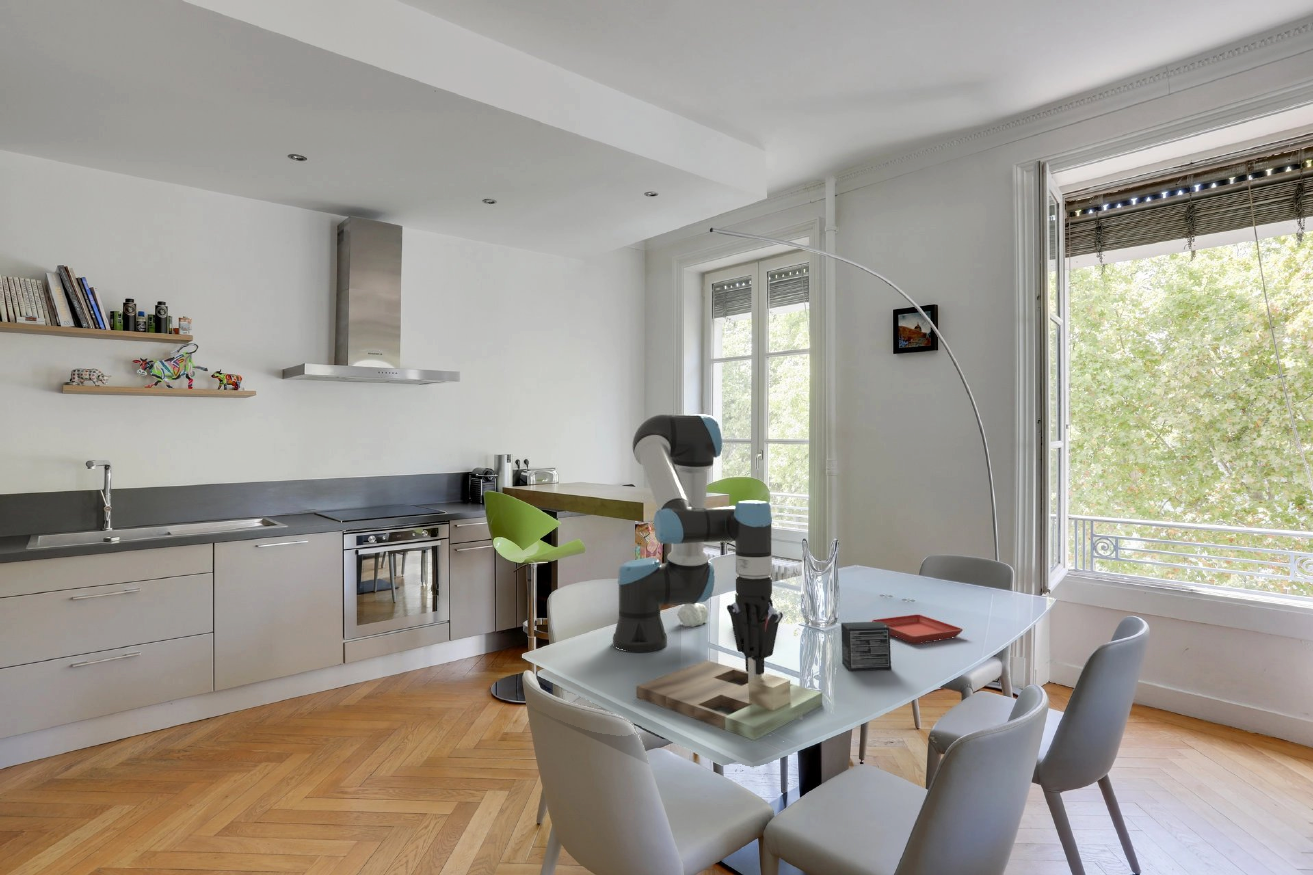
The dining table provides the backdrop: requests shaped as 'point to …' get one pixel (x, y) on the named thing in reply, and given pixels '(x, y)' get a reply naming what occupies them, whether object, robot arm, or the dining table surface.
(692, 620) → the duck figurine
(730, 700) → the board
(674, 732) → the dining table surface
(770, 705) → the block
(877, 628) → the small box
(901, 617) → the plant saucer
